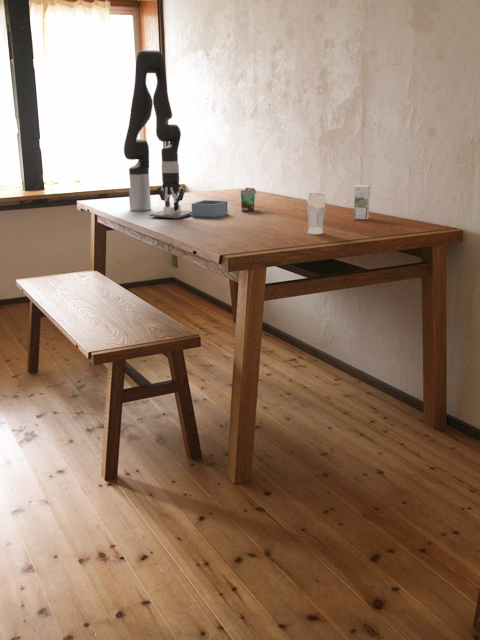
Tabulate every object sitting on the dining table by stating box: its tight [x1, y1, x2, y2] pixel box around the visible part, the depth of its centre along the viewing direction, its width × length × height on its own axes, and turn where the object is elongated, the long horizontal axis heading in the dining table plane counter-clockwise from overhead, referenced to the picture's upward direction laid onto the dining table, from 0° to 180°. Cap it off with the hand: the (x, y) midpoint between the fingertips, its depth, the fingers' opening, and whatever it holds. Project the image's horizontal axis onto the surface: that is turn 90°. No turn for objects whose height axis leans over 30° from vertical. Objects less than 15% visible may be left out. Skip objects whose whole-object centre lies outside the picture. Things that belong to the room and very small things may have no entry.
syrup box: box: [353, 183, 371, 221], centre depth 272 cm, size 6×6×14 cm
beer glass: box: [306, 192, 326, 236], centre depth 243 cm, size 7×7×15 cm
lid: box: [149, 204, 192, 219], centre depth 290 cm, size 15×15×4 cm
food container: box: [240, 187, 257, 213], centre depth 303 cm, size 12×6×10 cm, turn 168°
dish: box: [191, 199, 229, 219], centre depth 290 cm, size 12×12×6 cm
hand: (172, 209), depth 290 cm, fingers closed on lid, 3 cm apart
